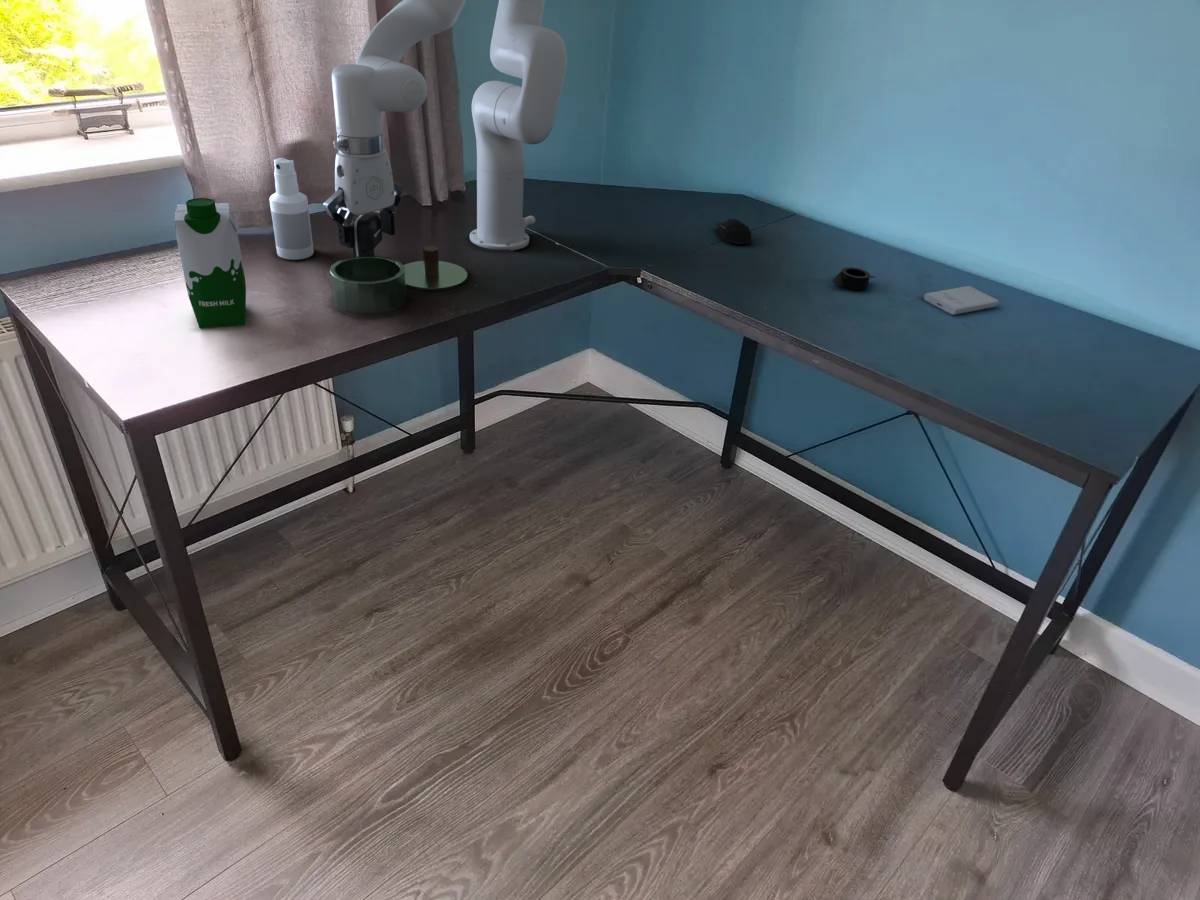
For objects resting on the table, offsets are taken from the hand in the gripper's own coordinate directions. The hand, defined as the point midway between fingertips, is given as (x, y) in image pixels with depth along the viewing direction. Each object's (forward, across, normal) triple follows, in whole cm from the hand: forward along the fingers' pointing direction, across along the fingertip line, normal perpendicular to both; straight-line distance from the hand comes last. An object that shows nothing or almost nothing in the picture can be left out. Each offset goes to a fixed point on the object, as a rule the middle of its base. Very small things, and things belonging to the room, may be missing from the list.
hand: (368, 239), depth 154 cm
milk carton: (+7, -29, +3) cm, 30 cm away
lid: (+6, +7, -9) cm, 13 cm away
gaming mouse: (+7, +75, -37) cm, 84 cm away
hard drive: (+8, +75, -90) cm, 117 cm away
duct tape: (+7, +67, -70) cm, 97 cm away
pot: (+7, -8, -9) cm, 14 cm away
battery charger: (+7, 0, 0) cm, 7 cm away
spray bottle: (+7, -3, +18) cm, 20 cm away
